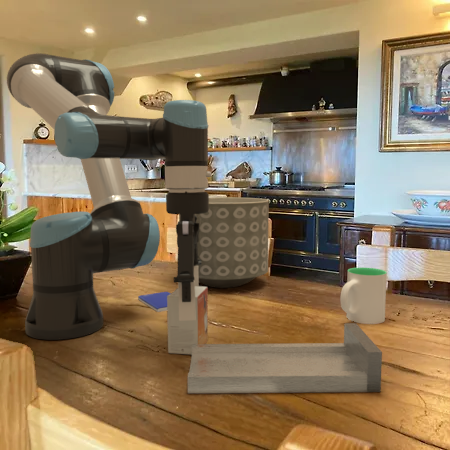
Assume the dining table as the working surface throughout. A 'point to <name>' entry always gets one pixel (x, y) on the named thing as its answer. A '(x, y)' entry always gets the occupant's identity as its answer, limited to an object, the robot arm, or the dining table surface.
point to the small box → (187, 323)
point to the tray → (288, 366)
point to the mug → (364, 295)
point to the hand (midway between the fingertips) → (189, 308)
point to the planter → (233, 241)
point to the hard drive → (155, 300)
